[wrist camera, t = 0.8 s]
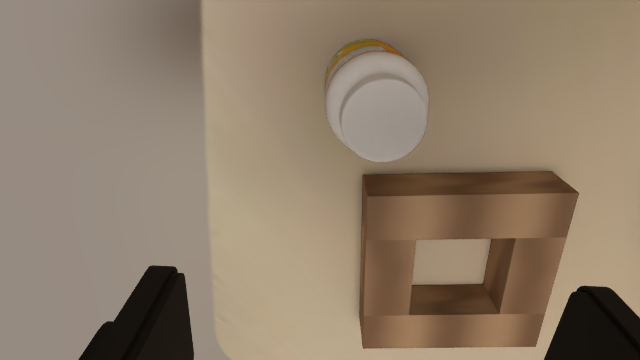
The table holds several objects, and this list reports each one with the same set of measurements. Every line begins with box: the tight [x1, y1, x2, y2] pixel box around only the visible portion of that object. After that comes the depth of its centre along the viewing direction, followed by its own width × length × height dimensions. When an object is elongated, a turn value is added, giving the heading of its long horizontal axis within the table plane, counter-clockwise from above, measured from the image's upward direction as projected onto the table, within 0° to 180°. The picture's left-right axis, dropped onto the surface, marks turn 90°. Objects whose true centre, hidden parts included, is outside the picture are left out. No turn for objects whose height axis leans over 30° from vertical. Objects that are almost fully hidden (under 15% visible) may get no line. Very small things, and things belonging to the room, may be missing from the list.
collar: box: [359, 171, 579, 348], centre depth 31 cm, size 14×14×4 cm
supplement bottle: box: [325, 39, 429, 162], centre depth 23 cm, size 5×5×10 cm
